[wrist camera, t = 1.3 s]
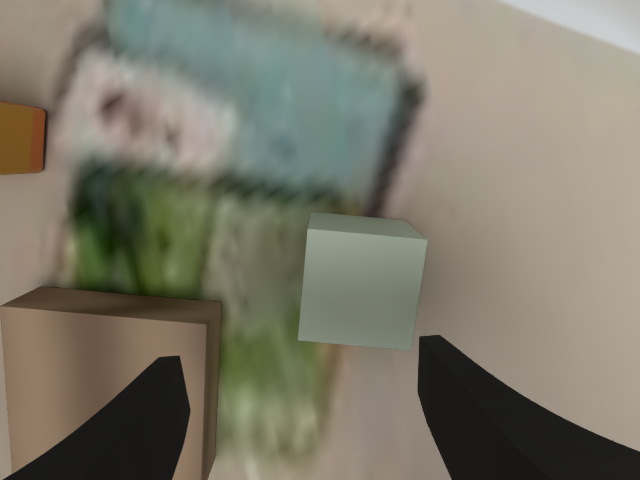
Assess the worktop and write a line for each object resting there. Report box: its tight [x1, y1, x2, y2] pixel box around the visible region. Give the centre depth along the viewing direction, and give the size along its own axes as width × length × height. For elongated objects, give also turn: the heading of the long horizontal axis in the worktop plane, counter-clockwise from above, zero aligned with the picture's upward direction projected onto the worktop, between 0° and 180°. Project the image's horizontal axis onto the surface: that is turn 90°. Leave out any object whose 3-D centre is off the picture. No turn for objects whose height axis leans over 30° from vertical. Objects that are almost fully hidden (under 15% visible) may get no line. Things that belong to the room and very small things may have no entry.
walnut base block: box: [0, 286, 222, 480], centre depth 23 cm, size 10×10×3 cm
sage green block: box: [298, 212, 428, 351], centre depth 20 cm, size 5×5×5 cm
